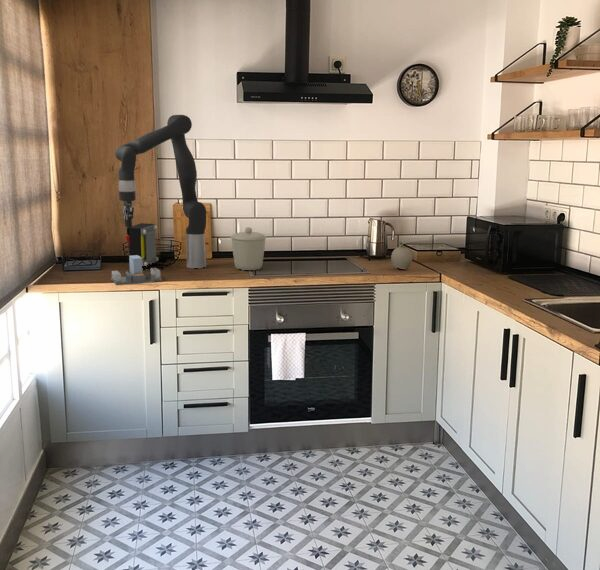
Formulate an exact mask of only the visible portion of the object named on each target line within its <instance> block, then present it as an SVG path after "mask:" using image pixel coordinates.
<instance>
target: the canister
mask: <svg viewBox="0 0 600 570" xmlns="http://www.w3.org/2000/svg"><path fill="white" fill-rule="evenodd" d="M229 238H230V239H231V246H232V255H233V261H234V266H235V268H236V269H237V270H239V269H241V270H240V271H244V270H253V271H258V270H260V269H261V268H262V266H263V263H264V262H263V261H264V254H265V246H266V239H267V238H268V236H267V235H265V234H263V233H261V232H258V231H257V232H254V231H253V228H252V227H250V226H248V227H245V229H244V231H241V232H239V231H238V232H235V233H233V234H232V235H230V237H229ZM257 269H258V270H257Z"/></svg>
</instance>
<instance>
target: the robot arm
mask: <svg viewBox="0 0 600 570" xmlns="http://www.w3.org/2000/svg"><path fill="white" fill-rule="evenodd" d="M167 119H168V120H167V123H166V124H167V125H165V126H164V127H161V128H157V129H156V130H153V131H150V132H147V133H145V134H144V135H142V136H139V137H138V138H136V139H134V140H132V141H130V142H126V143H125V144H122V145H120V146H119V147H117V148H116V150H115V152H114V153H115V155H114V156H115V158H116V159H117V160H118V161H119V162H121V166H120V167H119V168H118V200H119V201H121V202H123V204H121V209H122V215H123V218H124V227H125V228H126V229H127V228H132V226H133V223H132V221H133V219H134V211H135V210H134V209H135V208H134V205H133V204H132V202H134V201H136V199H137V197H136V194H137V193H136V182H135V167H136V163H137V155H142V154H145V153H147V152H148V151H150V150H152V149H154V148H155V147H157V146H159V145H162V144H163V143H165V142H167V141H169V140H170V141H171V145H172V149H173V154H174V155H173V156H174V159H175V166H176V171H177V175H178V181H179V182H178V183H179V185H180V186H179V187H180V191H181V196H182V197H181V198H182V209H183V213H184V216H185V217H187V218H188V225H187V227H186V229H185V241H186V242H185V243H186V268H188V269H194V268H198V269H204V268H203V267H205V268H207V248H206V239H205V237H206V236H205V235H206V234H205V233H206V232H205V231H206V228H207V208H206V205H205V204H204V203H202V202H200V201H198V197H197V192H196V184H197V180H198V179H197V178H198V174H197V173H198V172H197V166H196V162H195V158H194V157H193V154H192V152H191V150H190V149H189V147H188V144H187V141H186V134H188V133H189V132H190V131H191V129H192V126H193V124H192V120H191V117H189V116H187V115H185V114H172V115H170V117H169V118H167ZM194 270H195V269H194Z"/></svg>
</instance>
